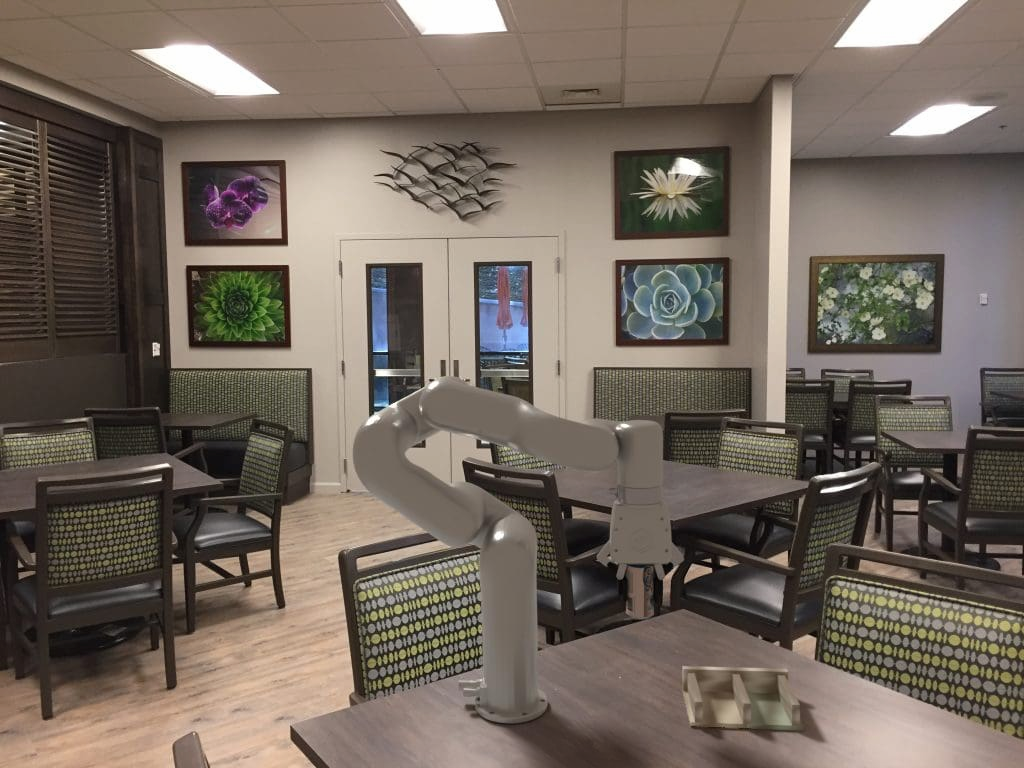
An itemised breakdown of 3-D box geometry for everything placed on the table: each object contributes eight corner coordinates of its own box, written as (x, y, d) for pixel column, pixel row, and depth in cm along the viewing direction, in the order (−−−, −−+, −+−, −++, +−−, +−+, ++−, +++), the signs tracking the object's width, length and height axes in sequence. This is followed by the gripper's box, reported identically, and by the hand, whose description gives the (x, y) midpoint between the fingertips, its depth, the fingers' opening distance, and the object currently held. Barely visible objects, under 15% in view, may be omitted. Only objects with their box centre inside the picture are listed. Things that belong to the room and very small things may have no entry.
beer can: (654, 621, 134) (654, 551, 133) (625, 620, 135) (625, 550, 134) (654, 610, 139) (654, 543, 138) (626, 609, 140) (626, 541, 139)
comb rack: (690, 726, 132) (690, 698, 132) (682, 691, 144) (682, 666, 144) (804, 730, 130) (804, 702, 130) (786, 694, 142) (786, 668, 142)
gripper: (589, 499, 132) (590, 607, 134) (694, 500, 131) (694, 608, 133) (588, 489, 140) (589, 591, 141) (688, 489, 138) (687, 592, 140)
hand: (640, 598), depth 137 cm, fingers closed on beer can, 4 cm apart
